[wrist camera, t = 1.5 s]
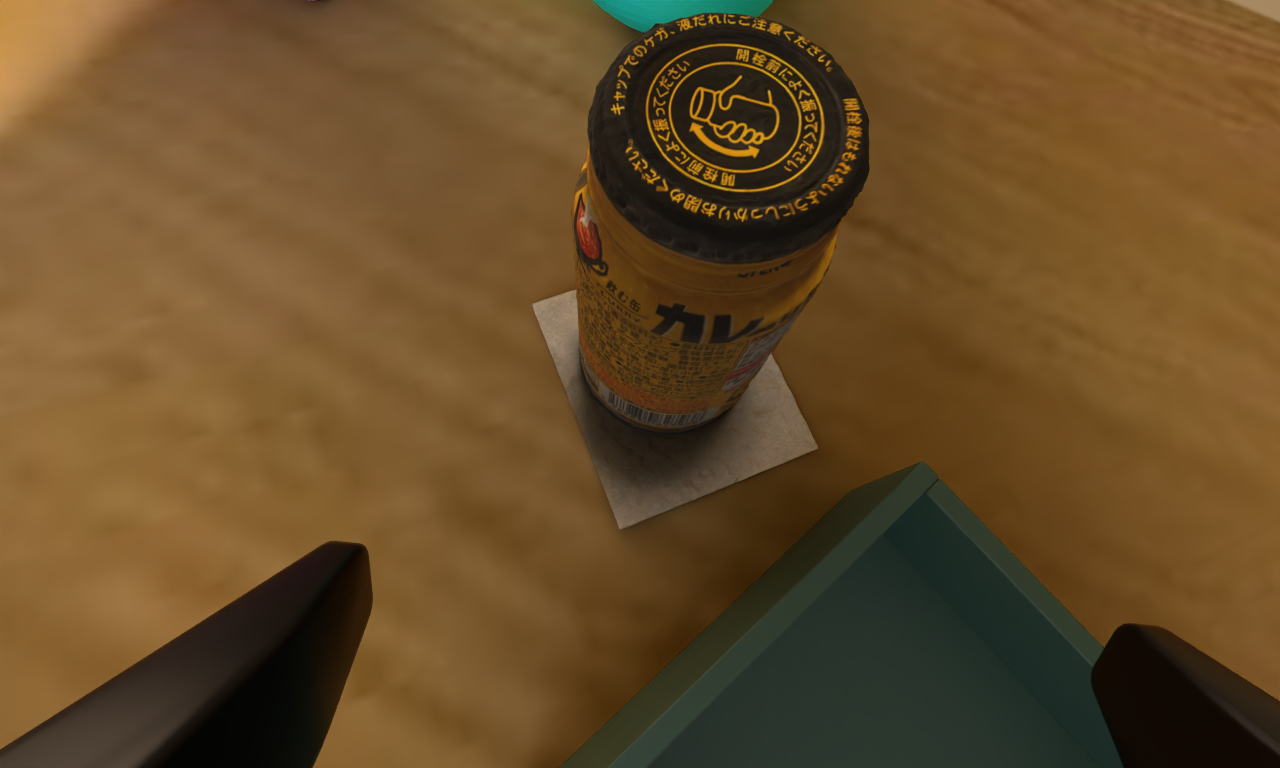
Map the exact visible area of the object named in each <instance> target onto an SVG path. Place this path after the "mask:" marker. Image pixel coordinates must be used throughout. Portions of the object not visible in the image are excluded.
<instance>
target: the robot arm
mask: <svg viewBox="0 0 1280 768" xmlns="http://www.w3.org/2000/svg"><path fill="white" fill-rule="evenodd" d="M372 602H373V593H372V583H371V573H370V563H369V554H368V550H367V548H366V547H365V546H364V545H362V544H360V543H351V542H341V541H330V542H327V543H325V544H323V545H321V546H319V547H318V548H316V549H315V550H313V551H312V552H310V553H308V554H307V555H305V556H304V557H302V558H301V559H299V560H297V561H296V562H294V563H293V564H291V565H290V566H288V567H286V568H285V569H283V570H282V571H280V572H279V573H277V574H275V575H274V576H272V577H271V578H269V579H268V580H266V581H264V582H263V583H261V584H260V585H258V586H257V587H255V588H253V589H252V590H250V591H249V592H247V593H246V594H244V595H242V596H241V597H239V598H238V599H236V600H235V601H233V602H231V603H230V604H228V605H227V606H225V607H224V608H222V609H220V610H219V611H217V612H216V613H214V614H213V615H211V616H209V617H208V618H206V619H205V620H203V621H202V622H200V623H198V624H197V625H195V626H194V627H192V628H191V629H189V630H187V631H186V632H184V633H183V634H181V635H180V636H178V637H176V638H175V639H173V640H172V641H170V642H169V643H167V644H165V645H164V646H162V647H161V648H159V649H158V650H156V651H154V652H153V653H151V654H150V655H148V656H147V657H145V658H143V659H142V660H140V661H139V662H137V663H136V664H134V665H133V666H131V667H129V668H128V669H126V670H125V671H123V672H122V673H120V674H118V675H117V676H115V677H114V678H112V679H111V680H109V681H107V682H106V683H104V684H103V685H101V686H100V687H98V688H96V689H95V690H93V691H92V692H90V693H89V694H87V695H85V696H84V697H82V698H81V699H79V700H78V701H76V702H74V703H73V704H71V705H70V706H68V707H67V708H65V709H63V710H62V711H60V712H59V713H57V714H56V715H54V716H52V717H51V718H49V719H48V720H46V721H45V722H43V723H41V724H40V725H38V726H37V727H35V728H34V729H32V730H30V731H29V732H27V733H26V734H24V735H23V736H21V737H19V738H18V739H16V740H15V741H13V742H12V743H10V744H8V745H7V746H5V747H4V748H2V749H1V750H0V768H313V766H314V764H315V761H316V759H317V757H318V755H319V752H320V750H321V748H322V746H323V743H324V740H325V738H326V735H327V733H328V730H329V727H330V725H331V722H332V719H333V717H334V714H335V711H336V708H337V705H338V703H339V700H340V697H341V694H342V692H343V689H344V686H345V683H346V681H347V678H348V675H349V672H350V669H351V667H352V664H353V661H354V658H355V656H356V653H357V650H358V647H359V644H360V642H361V639H362V636H363V633H364V631H365V628H366V625H367V622H368V619H369V616H370V613H371V609H372ZM1091 686H1092V690H1093V693H1094V695H1095V698H1096V700H1097V703H1098V705H1099V708H1100V710H1101V713H1102V715H1103V718H1104V720H1105V723H1106V725H1107V728H1108V730H1109V733H1110V735H1111V738H1112V740H1113V743H1114V745H1115V748H1116V750H1117V753H1118V755H1119V758H1120V760H1121V763H1122V765H1123V768H1280V701H1279V700H1277V699H1275V698H1274V697H1272V696H1271V695H1269V694H1268V693H1266V692H1264V691H1263V690H1261V689H1260V688H1258V687H1257V686H1255V685H1253V684H1252V683H1250V682H1249V681H1247V680H1246V679H1244V678H1242V677H1241V676H1239V675H1238V674H1236V673H1235V672H1233V671H1231V670H1230V669H1228V668H1227V667H1225V666H1224V665H1222V664H1220V663H1219V662H1217V661H1216V660H1214V659H1213V658H1211V657H1209V656H1208V655H1206V654H1205V653H1203V652H1202V651H1200V650H1198V649H1197V648H1195V647H1194V646H1192V645H1190V644H1189V643H1187V642H1186V641H1184V640H1183V639H1181V638H1179V637H1178V636H1176V635H1175V634H1173V633H1172V632H1170V631H1168V630H1166V629H1164V628H1162V627H1158V626H1153V625H1143V624H1134V623H1127V624H1123V625H1121V626H1120V627H1118V628H1117V629H1116V630H1115V632H1114V633H1113V635H1112V637H1111V638H1110V640H1109V641H1108V643H1107V645H1106V646H1105V648H1104V649H1103V651H1102V653H1101V654H1100V656H1099V657H1098V659H1097V661H1096V662H1095V664H1094V665H1093V668H1092V671H1091Z"/></svg>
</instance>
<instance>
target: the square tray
mask: <svg viewBox="0 0 1280 768" xmlns="http://www.w3.org/2000/svg"><path fill="white" fill-rule="evenodd" d="M938 478H939V477H938V475H937V474H936V473H935V472H934V471H933V470H932V469H931V468H930V467H929V466H928V465H927V464H926V463H925V462H924V461H922V462H919V463H917V464H914V465H912V466H909V467H907V468H905V469H902V470H900V471H897V472H895V473H892V474H890V475H887V476H885V477H883V478H880V479H878V480H875V481H873V482H870V483H868V484H865V485H863V486H861V487H858V488H856V489H854V490H851V491H850V492H849V493H848V494H847V495H846V496H845V497H844V498H843V499H842V500H841V501H840V502H839V503H838V504H837V505H836V506H835V507H834V508H832V509H831V510H830V511H829V512H828V513H827V514H826V515H825V516H824V517H823V518H822V519H821V520H820V521H819V522H818V523H817V524H816V525H815V526H813V527H812V528H811V529H810V530H809V531H808V532H807V533H806V534H805V535H804V536H803V537H802V538H801V539H800V540H799V541H798V542H797V543H796V544H795V545H793V546H792V547H791V548H790V549H789V550H788V551H787V552H786V553H785V554H784V555H783V556H782V557H781V558H780V559H779V560H778V561H777V562H776V563H775V564H773V565H772V566H771V567H770V568H769V569H768V570H767V571H766V572H765V573H764V574H763V575H762V576H761V577H760V578H759V579H758V580H757V581H756V582H754V583H753V584H752V585H751V586H750V587H749V588H748V589H747V590H746V591H745V592H744V593H743V594H742V595H741V596H740V597H739V598H738V599H737V600H736V601H734V602H733V603H732V604H731V605H730V606H729V607H728V608H727V609H726V610H725V611H724V612H723V613H722V614H721V615H720V616H719V617H718V618H717V619H715V620H714V621H713V622H712V623H711V624H710V625H709V626H708V627H707V628H706V629H705V630H704V631H703V632H702V633H701V634H700V635H699V636H698V637H697V638H695V639H694V640H693V641H692V642H691V643H690V644H689V645H688V646H687V647H686V648H685V649H684V650H683V651H682V652H681V653H680V654H679V655H678V656H677V657H675V658H674V659H673V660H672V661H671V662H670V663H669V664H668V665H667V666H666V667H665V668H664V669H663V670H662V671H661V672H660V673H659V674H658V675H656V676H655V677H654V678H653V679H652V680H651V681H650V682H649V683H648V684H647V685H646V686H645V687H644V688H643V689H642V690H641V691H640V692H639V693H638V694H636V695H635V696H634V697H633V698H632V699H631V700H630V701H629V702H628V703H627V704H626V705H625V706H624V707H623V708H622V709H621V710H620V711H619V712H617V713H616V714H615V715H614V716H613V717H612V718H611V719H610V720H609V721H608V722H607V723H606V724H605V725H604V726H603V727H602V728H601V729H600V730H599V731H597V732H596V733H595V734H594V735H593V736H592V737H591V738H590V739H589V740H588V741H587V742H586V743H585V744H584V745H583V746H582V747H581V748H580V749H579V750H577V751H576V752H575V753H574V754H573V755H572V756H571V757H570V758H569V759H568V760H567V761H566V762H565V763H564V764H563V765H562V766H561V767H560V768H1123V765H1122V763H1121V760H1120V758H1119V755H1118V753H1117V750H1116V748H1115V745H1114V743H1113V740H1112V738H1111V735H1110V733H1109V730H1108V728H1107V725H1106V723H1105V720H1104V718H1103V715H1102V713H1101V710H1100V708H1099V705H1098V703H1097V700H1096V698H1095V695H1094V693H1093V690H1092V686H1091V671H1092V668H1093V665H1094V664H1095V662H1096V661H1097V659H1098V657H1099V656H1100V654H1101V653H1102V651H1103V649H1104V647H1103V646H1102V645H1101V644H1100V643H1099V642H1098V641H1097V640H1096V639H1095V638H1094V637H1093V636H1092V635H1091V634H1090V633H1089V632H1088V631H1087V630H1086V629H1085V628H1084V627H1083V626H1082V625H1081V624H1080V623H1079V622H1078V621H1077V620H1076V619H1075V618H1074V616H1073V615H1072V614H1071V613H1070V612H1069V611H1068V610H1067V609H1066V608H1065V607H1064V606H1063V605H1062V604H1061V603H1060V602H1059V601H1058V600H1057V599H1056V598H1055V597H1054V596H1053V595H1052V594H1051V593H1050V592H1049V591H1048V590H1047V589H1046V588H1045V587H1044V585H1043V584H1042V583H1041V582H1040V581H1039V580H1038V579H1037V578H1036V577H1035V576H1034V575H1033V574H1032V573H1031V572H1030V571H1029V570H1028V569H1027V568H1026V567H1025V566H1024V565H1023V564H1022V563H1021V562H1020V561H1019V560H1018V559H1017V558H1016V557H1015V556H1014V554H1013V553H1012V552H1011V551H1010V550H1009V549H1008V548H1007V547H1006V546H1005V545H1004V544H1003V543H1002V542H1001V541H1000V540H999V539H998V538H997V537H996V536H995V535H994V534H993V533H992V532H991V531H990V530H989V529H988V528H987V527H986V526H985V525H984V523H983V522H982V521H981V520H980V519H979V518H978V517H977V516H976V515H975V514H974V513H973V512H972V511H971V510H970V509H969V508H968V507H967V506H966V505H965V504H964V503H963V502H962V501H961V500H960V499H959V498H958V497H957V496H956V495H955V494H954V493H953V491H952V490H951V489H950V488H949V487H948V486H947V485H946V484H945V483H944V482H943V481H942V480H940V479H938Z"/></svg>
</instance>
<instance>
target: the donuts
mask: <svg viewBox="0 0 1280 768" xmlns="http://www.w3.org/2000/svg"><path fill="white" fill-rule="evenodd" d="M593 1H594V2H595V3H596V4H597V5H598V6H599V7H600V8H601V9H603V10H604V11H605V12H607V13H608V14H610V15H611V16H613V17H614V18H615V19H617V20H618V21H620V22H621V23H623V24H625V25H627V26H629V27H631V28H633V29H635V30H638V31H640V32H643V33H645V32H647V31H648V30H649V29H651V28H652V27H653V26H654V25H655V23H660V24H664V23H667V22H671V21H673V20H676V19H678V18H686V17H690V16H694V15H697V14H701V13H729V14H743V15H749V16H753V17H758V16H759V15H761V14H762V13H763V12H764V11H765V10H766V9H767V8H768V7H769V6H770V5H771V3H772V2H773V1H774V0H593Z"/></svg>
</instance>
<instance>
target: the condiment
mask: <svg viewBox="0 0 1280 768" xmlns="http://www.w3.org/2000/svg"><path fill="white" fill-rule="evenodd" d="M588 138H589V147H588V153H587V160H586V162H585V164H584V166H583V168H582V170H581V173H580V175H579V180H578V182H577V184H576V190H575V195H574V202H573V206H572V210H571V215H572V221H573V231H574V240H573V241H574V249H575V270H576V290H573V291H569V292H566V293H564V294H560V295H557V296H554V297H551V298H548V299H545V300H542V301H539V302H537V303H534V304H532V306H533V309H534V311H535V314H536V317H537V319H538V322H539V324H540V327H541V329H542V332H543V335H544V337H545V340H546V342H547V345H548V348H549V350H550V353H551V355H552V357H553V360H554V363H555V365H556V368H557V371H558V373H559V376H560V378H561V381H562V384H563V386H564V388H565V391H566V394H567V396H568V399H569V401H570V404H571V406H572V409H573V411H574V414H575V416H576V419H577V421H578V424H579V426H580V429H581V431H582V434H583V436H584V438H585V442H586V444H587V447H588V449H589V452H590V455H591V457H592V460H593V462H594V465H595V467H596V470H597V473H598V475H599V478H600V480H601V483H602V485H603V488H604V490H605V492H606V495H607V497H608V500H609V503H610V505H611V508H612V510H613V513H614V515H615V518H616V521H617V523H618V526H619V528H620V529H623V528H625V527H628V526H630V525H633V524H635V523H638V522H640V521H642V520H645V519H648V518H650V517H653V516H655V515H657V514H660V513H662V512H665V511H667V510H670V509H672V508H675V507H677V506H680V505H682V504H684V503H687V502H689V501H693V500H695V499H697V498H699V497H702V496H704V495H706V494H709V493H712V492H714V491H716V490H719V489H721V488H724V487H726V486H729V485H731V484H734V483H737V482H739V481H742V480H744V479H746V478H748V477H750V476H753V475H755V474H757V473H759V472H762V471H765V470H767V469H770V468H772V467H775V466H777V465H780V464H782V463H785V462H787V461H789V460H792V459H794V458H796V457H799V456H801V455H804V454H806V453H809V452H811V451H813V450H816V449H818V446H817V444H816V442H815V440H814V438H813V436H812V434H811V432H810V429H809V427H808V425H807V423H806V421H805V420H804V418H803V416H802V414H801V412H800V410H799V408H798V406H797V404H796V401H795V399H794V397H793V395H792V393H791V391H790V390H789V388H788V386H787V384H786V382H785V380H784V378H783V375H782V373H781V371H780V369H779V367H778V365H777V364H776V362H775V360H774V358H773V355H772V354H771V352H772V351H773V350H774V349H775V347H776V346H777V344H778V342H779V341H780V340H781V339H782V337H783V336H784V335H785V334H786V333H787V332H788V331H789V330H790V328H791V326H792V324H793V323H794V321H795V320H796V318H797V317H798V316H799V314H800V313H801V312H802V310H803V309H804V307H805V305H806V304H807V303H808V302H809V300H810V299H811V298H812V297H813V295H814V293H815V291H816V289H817V288H818V286H819V285H820V283H821V281H822V279H823V277H824V276H825V274H826V272H827V270H828V268H829V266H830V263H831V260H832V256H833V253H834V251H835V248H836V237H837V233H838V231H839V228H840V226H841V222H842V220H843V217H844V216H845V215H846V214H847V211H848V210H849V209H850V208H851V207H852V206H853V203H854V200H855V198H856V197H857V196H858V194H859V193H860V192H861V191H862V189H863V186H864V183H865V182H866V179H867V177H868V173H869V118H868V115H867V112H866V110H865V108H864V105H863V103H862V100H861V98H860V97H859V95H858V93H857V91H856V88H855V86H854V85H853V83H852V81H851V80H850V79H849V78H848V77H847V75H846V74H845V73H844V71H843V69H842V68H841V66H840V65H838V64H837V63H836V62H835V60H834V59H833V57H832V55H830V54H829V53H827V52H826V51H825V50H823V49H822V48H820V47H818V46H817V45H815V44H814V43H812V42H811V41H809V40H808V39H806V38H805V37H803V36H802V35H801V34H800V33H798V32H797V31H795V30H794V29H792V28H790V27H787V26H785V25H783V24H781V23H777V22H773V21H770V20H766V19H761V18H757V17H753V16H749V15H743V14H729V13H701V14H697V15H694V16H690V17H686V18H678V19H676V20H673V21H671V22H667V23H664V24H660V23H655V25H654V26H653V27H652V28H651V29H649V30H648V31H647V32H645V33H644V34H643V35H642V36H641V37H639V38H637V39H635V40H633V41H632V42H630V43H629V44H628V45H627V46H626V47H625V48H624V49H623V50H622V51H621V53H620V54H619V55H618V57H617V58H616V59H615V61H614V62H613V63H612V64H611V66H610V67H609V69H608V71H607V73H606V74H605V76H604V77H603V78H602V79H601V80H600V81H599V83H598V85H597V86H596V92H595V96H594V99H593V103H592V106H591V108H590V111H589V117H588Z"/></svg>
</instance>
